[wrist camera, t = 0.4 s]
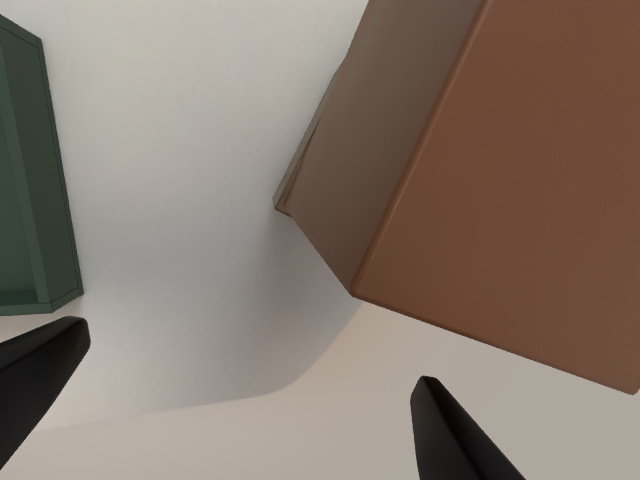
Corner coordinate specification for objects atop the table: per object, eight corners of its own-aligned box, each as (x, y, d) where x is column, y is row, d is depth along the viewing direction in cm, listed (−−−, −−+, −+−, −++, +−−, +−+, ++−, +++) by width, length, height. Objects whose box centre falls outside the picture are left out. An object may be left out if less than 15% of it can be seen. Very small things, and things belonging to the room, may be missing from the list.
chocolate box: (388, 250, 15) (637, 399, 5) (283, 206, 13) (347, 297, 4) (494, 25, 13) (1112, -367, 4) (389, -51, 12) (959, -1034, 2)
